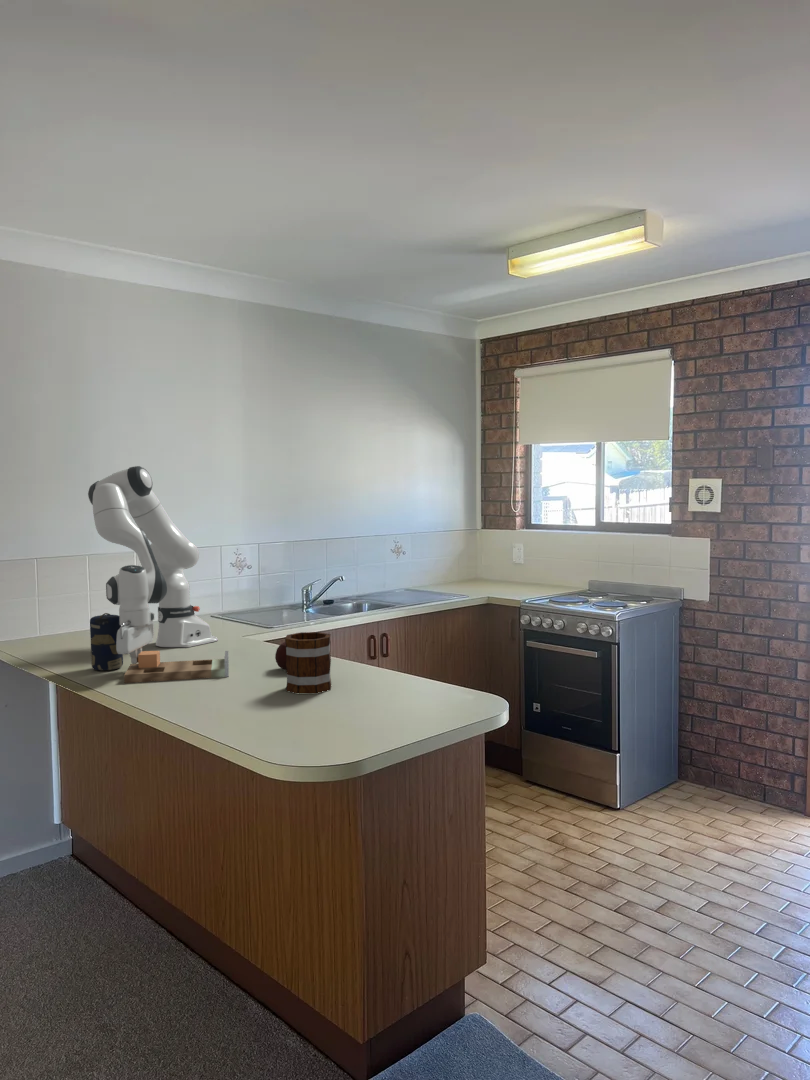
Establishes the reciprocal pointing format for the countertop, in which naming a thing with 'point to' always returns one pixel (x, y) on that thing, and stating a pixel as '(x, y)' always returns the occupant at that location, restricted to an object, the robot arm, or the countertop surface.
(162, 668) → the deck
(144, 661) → the block
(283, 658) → the potato
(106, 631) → the canister
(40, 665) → the countertop surface
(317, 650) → the mug
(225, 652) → the end stop
